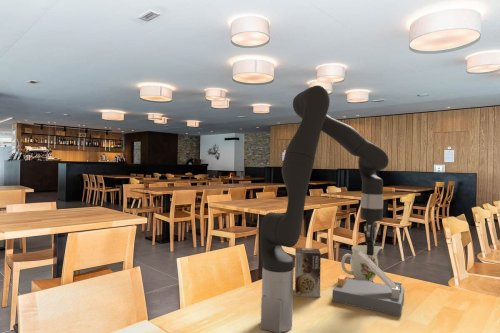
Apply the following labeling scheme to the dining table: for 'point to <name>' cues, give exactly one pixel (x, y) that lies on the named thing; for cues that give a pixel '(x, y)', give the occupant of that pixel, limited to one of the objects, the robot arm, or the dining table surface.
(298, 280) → the coffee box
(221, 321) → the dining table surface
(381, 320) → the dining table surface
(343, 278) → the block
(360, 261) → the pitcher
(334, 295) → the block
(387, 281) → the metal hinged lever
